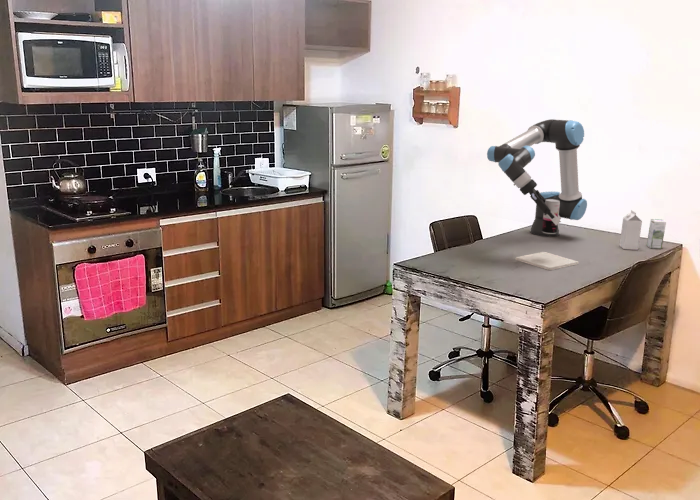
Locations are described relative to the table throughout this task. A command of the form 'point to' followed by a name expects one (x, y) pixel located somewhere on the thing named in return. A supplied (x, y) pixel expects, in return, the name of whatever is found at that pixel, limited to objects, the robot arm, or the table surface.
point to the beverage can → (548, 224)
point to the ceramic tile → (547, 260)
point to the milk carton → (630, 231)
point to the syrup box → (656, 233)
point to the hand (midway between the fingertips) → (558, 221)
